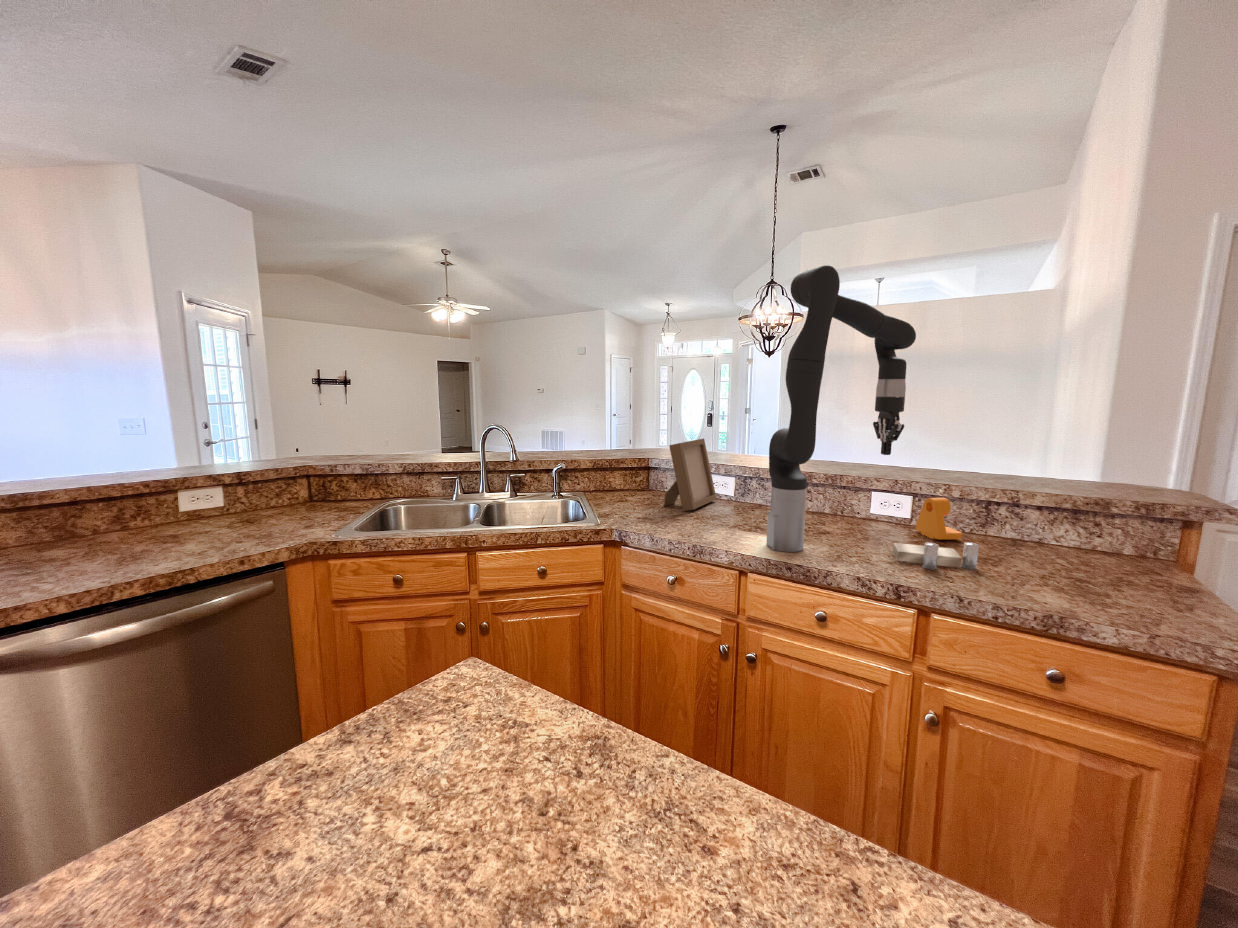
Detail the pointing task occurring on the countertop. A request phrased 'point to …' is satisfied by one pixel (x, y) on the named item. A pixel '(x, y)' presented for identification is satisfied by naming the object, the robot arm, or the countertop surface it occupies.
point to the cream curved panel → (917, 551)
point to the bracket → (936, 520)
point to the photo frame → (691, 475)
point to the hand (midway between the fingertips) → (885, 454)
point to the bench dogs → (967, 562)
